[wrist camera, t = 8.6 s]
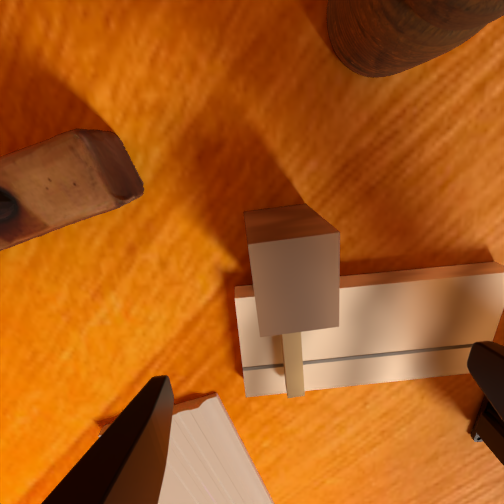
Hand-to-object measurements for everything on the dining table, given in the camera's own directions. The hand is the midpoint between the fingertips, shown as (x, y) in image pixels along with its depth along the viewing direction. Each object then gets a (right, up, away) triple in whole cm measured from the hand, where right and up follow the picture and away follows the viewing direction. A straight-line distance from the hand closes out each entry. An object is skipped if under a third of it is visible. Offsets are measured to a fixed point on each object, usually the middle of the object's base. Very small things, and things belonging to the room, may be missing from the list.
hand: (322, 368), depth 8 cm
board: (+6, -2, +13) cm, 15 cm away
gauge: (0, 0, +12) cm, 12 cm away
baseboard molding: (-5, -23, +22) cm, 32 cm away
